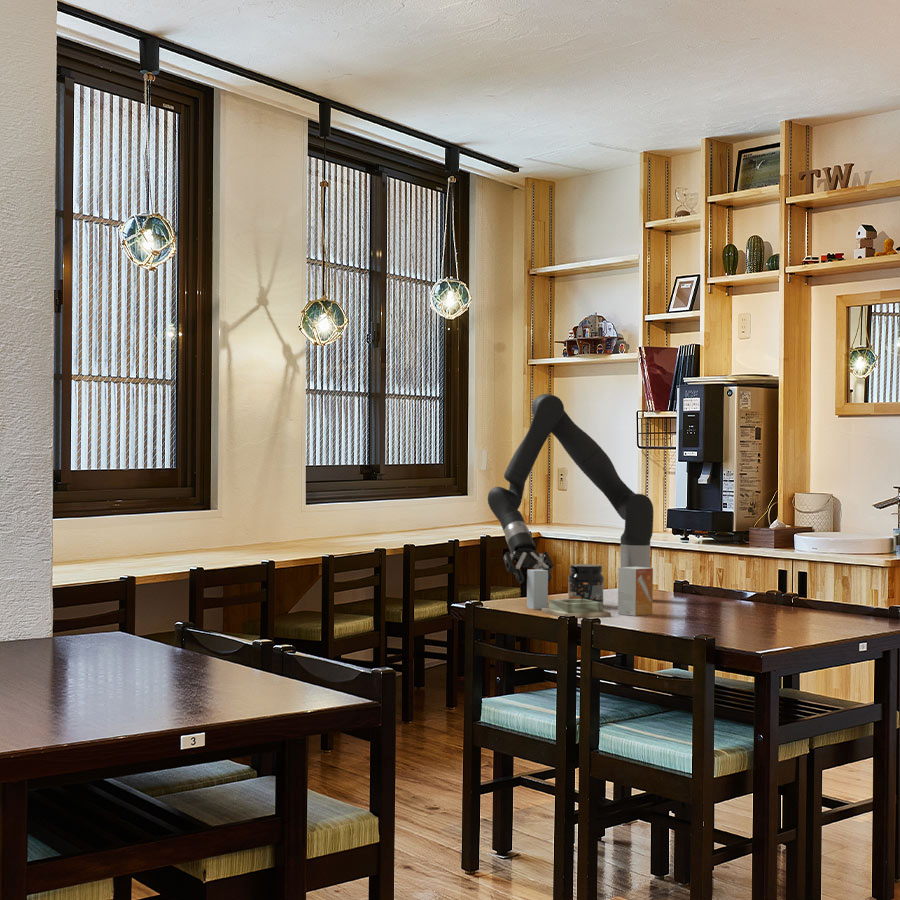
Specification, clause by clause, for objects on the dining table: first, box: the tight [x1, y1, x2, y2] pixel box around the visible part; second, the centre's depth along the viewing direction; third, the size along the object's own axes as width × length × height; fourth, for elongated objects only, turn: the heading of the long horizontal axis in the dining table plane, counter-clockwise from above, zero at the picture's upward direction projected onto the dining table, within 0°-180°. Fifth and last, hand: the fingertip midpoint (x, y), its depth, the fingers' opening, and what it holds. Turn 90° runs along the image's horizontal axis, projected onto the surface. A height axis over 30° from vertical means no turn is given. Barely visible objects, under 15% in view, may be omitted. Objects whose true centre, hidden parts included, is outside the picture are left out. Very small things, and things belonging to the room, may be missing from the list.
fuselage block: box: [526, 568, 549, 610], centre depth 316 cm, size 4×4×11 cm
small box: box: [617, 567, 654, 617], centre depth 304 cm, size 8×6×13 cm
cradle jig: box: [541, 598, 612, 618], centre depth 303 cm, size 14×14×4 cm
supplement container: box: [567, 563, 605, 604], centre depth 324 cm, size 10×10×12 cm
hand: (535, 581), depth 317 cm, fingers open, 8 cm apart
